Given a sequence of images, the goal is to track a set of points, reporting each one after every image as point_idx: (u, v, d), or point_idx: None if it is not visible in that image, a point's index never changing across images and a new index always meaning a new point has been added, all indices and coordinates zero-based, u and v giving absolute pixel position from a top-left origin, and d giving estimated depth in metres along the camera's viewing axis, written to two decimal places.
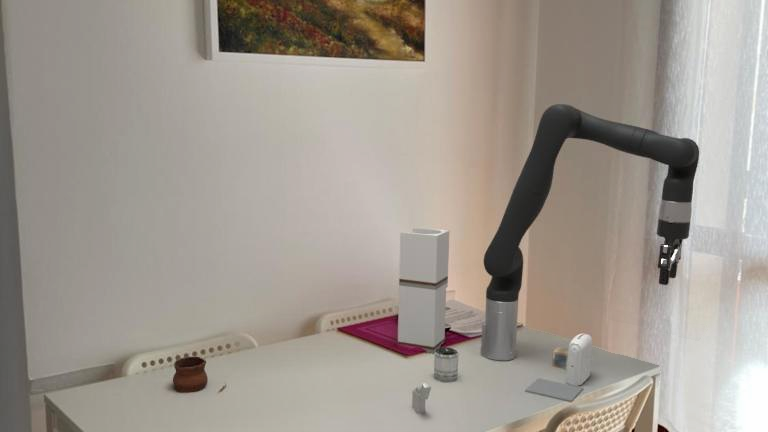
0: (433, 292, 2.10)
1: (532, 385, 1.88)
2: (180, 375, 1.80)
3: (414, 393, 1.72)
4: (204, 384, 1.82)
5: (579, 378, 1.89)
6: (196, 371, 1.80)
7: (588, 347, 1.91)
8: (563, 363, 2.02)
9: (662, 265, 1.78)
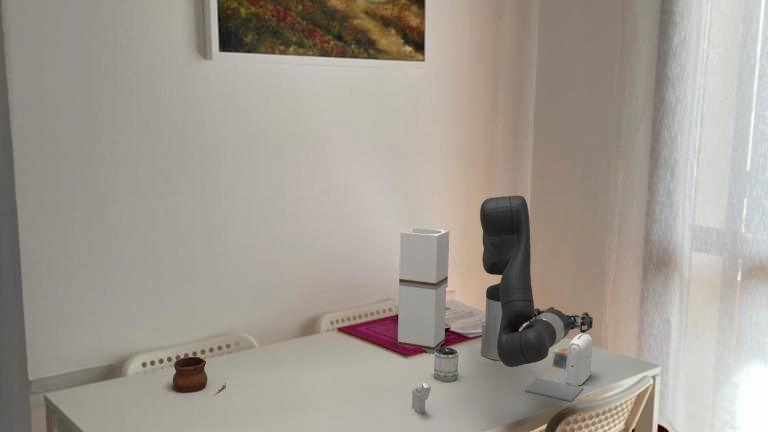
0: (433, 292, 2.10)
1: (532, 385, 1.88)
2: (180, 375, 1.80)
3: (414, 393, 1.72)
4: (203, 384, 1.82)
5: (579, 378, 1.89)
6: (195, 371, 1.80)
7: (588, 347, 1.91)
8: (563, 363, 2.02)
9: None
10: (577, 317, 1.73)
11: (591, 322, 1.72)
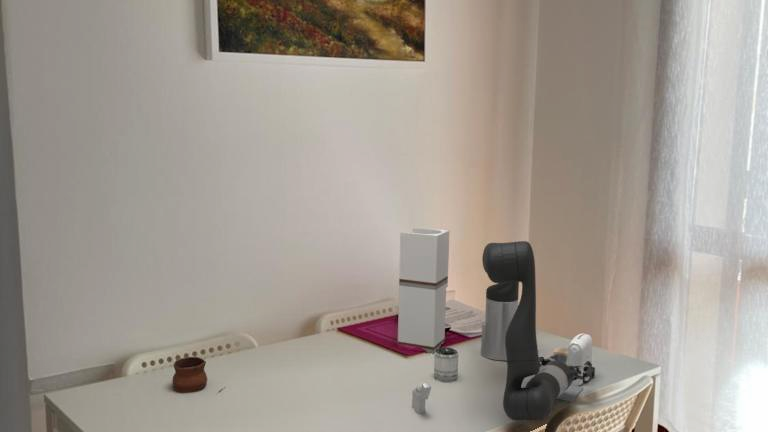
0: (433, 292, 2.10)
1: None
2: (179, 375, 1.80)
3: (414, 393, 1.72)
4: (203, 385, 1.82)
5: None
6: (195, 372, 1.80)
7: (588, 347, 1.91)
8: None
9: None
10: (580, 367, 1.80)
11: (593, 372, 1.79)
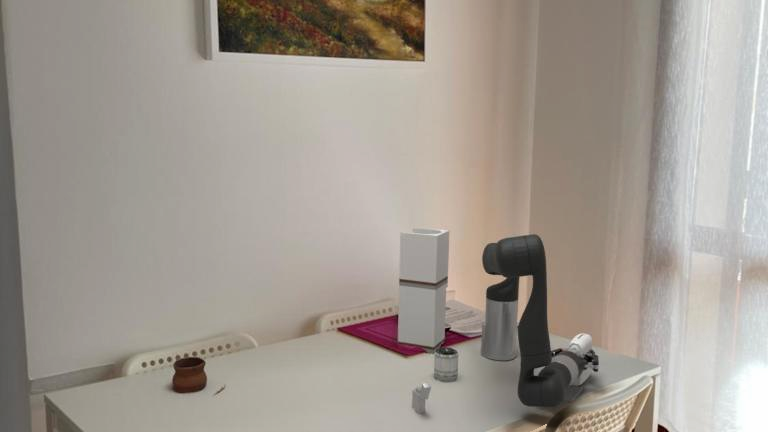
0: (433, 292, 2.10)
1: None
2: (179, 375, 1.80)
3: (414, 393, 1.72)
4: (202, 385, 1.81)
5: (579, 378, 1.89)
6: (194, 372, 1.80)
7: (588, 347, 1.91)
8: None
9: (558, 352, 1.93)
10: (586, 356, 1.88)
11: None
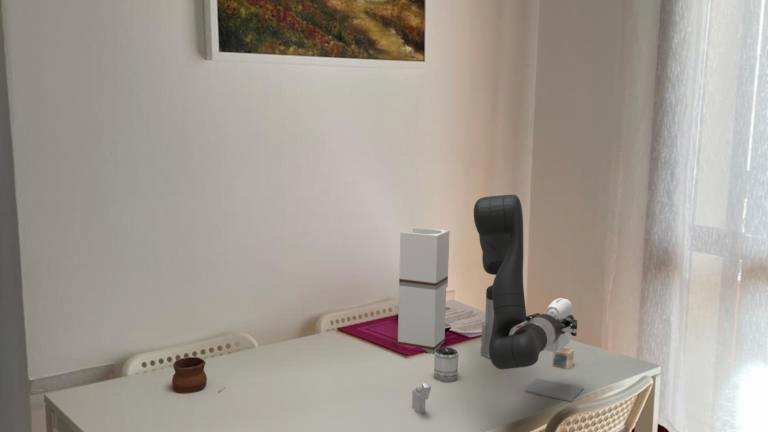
0: (433, 292, 2.10)
1: (532, 385, 1.88)
2: (179, 375, 1.80)
3: (414, 393, 1.72)
4: (203, 385, 1.81)
5: (556, 344, 1.79)
6: (194, 372, 1.80)
7: (567, 312, 1.82)
8: (563, 363, 2.02)
9: None
10: (565, 320, 1.78)
11: None
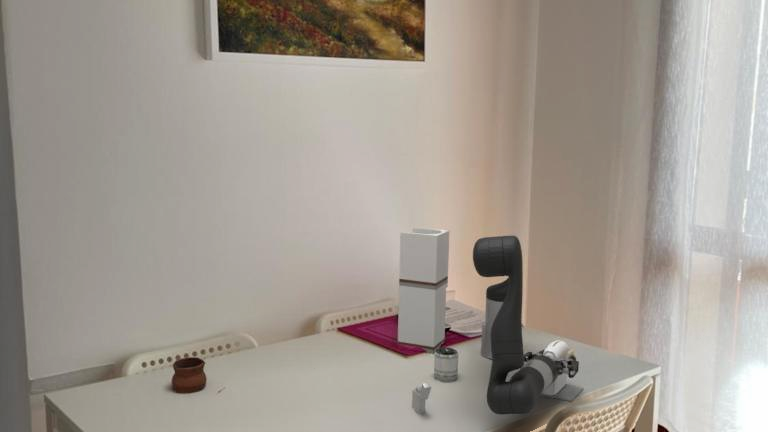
0: (433, 292, 2.10)
1: None
2: (178, 375, 1.79)
3: (414, 393, 1.72)
4: (202, 385, 1.81)
5: (553, 387, 1.81)
6: (194, 372, 1.80)
7: (563, 355, 1.84)
8: None
9: None
10: (564, 361, 1.79)
11: (577, 366, 1.79)
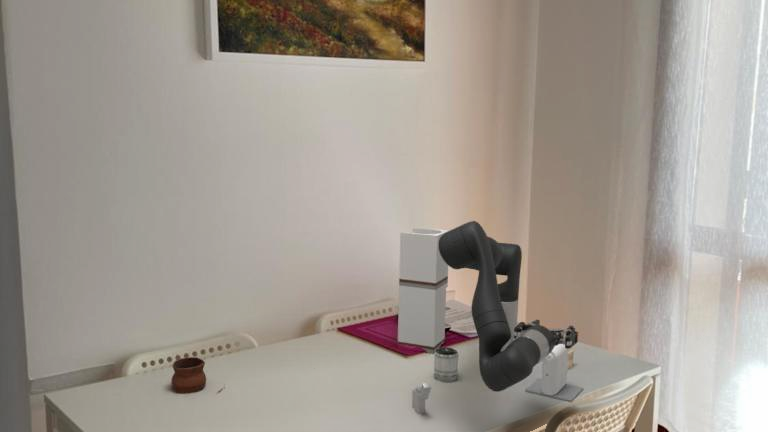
0: (433, 292, 2.10)
1: (532, 385, 1.88)
2: (179, 376, 1.79)
3: (414, 393, 1.72)
4: (202, 385, 1.81)
5: (553, 387, 1.81)
6: (194, 372, 1.80)
7: (563, 355, 1.84)
8: None
9: None
10: (562, 332, 1.71)
11: (576, 337, 1.70)
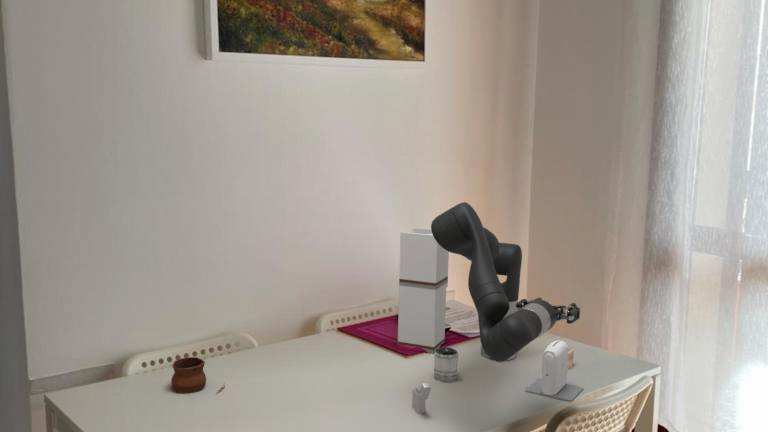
0: (433, 292, 2.10)
1: (532, 385, 1.88)
2: (179, 376, 1.79)
3: (414, 393, 1.72)
4: (203, 385, 1.82)
5: (553, 387, 1.81)
6: (194, 372, 1.80)
7: (563, 355, 1.84)
8: None
9: None
10: (564, 308, 1.70)
11: (578, 313, 1.70)
